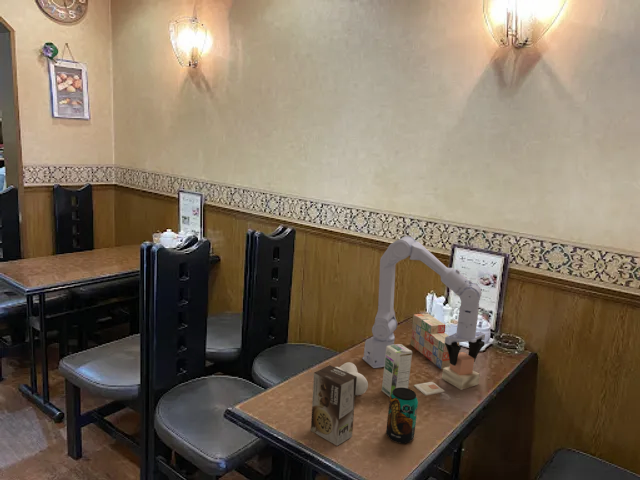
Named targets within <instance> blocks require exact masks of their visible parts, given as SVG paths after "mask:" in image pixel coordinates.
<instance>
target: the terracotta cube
mask: <svg viewBox="0 0 640 480" xmlns="http://www.w3.org/2000/svg"><path fill="white" fill-rule="evenodd" d="M468 354H469V353H466V352H465V351H461V352H459V354H458V358H457V363H456V365H455V366H454V365H452V364H450V369H452V370H453V371H454V372H456V373H457V374H459V375H465V374H471V373H472V372H473V371H474V366H475V365H474V364H475V362H474V358H473V357H471V356H469V355H468Z"/></svg>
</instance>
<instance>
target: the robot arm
mask: <svg viewBox="0 0 640 480" xmlns="http://www.w3.org/2000/svg"><path fill="white" fill-rule="evenodd" d="M407 258H409V260H413V261H420V262H422V263H423V264H424V265H426V266H427V267H428V268H430V269H431V270H432V271H434V272H435V273H436V274H437V275H439V276H440V281H441V283H442V284H444V285H445V286H446V287H447V288H448V289H450V290H451V291H452V292H454V293H455V294H456V295H457V296H459V300H460V306H459V311H458V319H457V325H456V332H455V333H452V334H450V335H449V336H447V337H445V345H446V347H447V350H448V354H449V360H450V364H452V365H454V366H455V365H456V363H457V358H458V354H459V353H460V351H461V350H462V347H461V346H460V345H459V346H458V344H457V343H458V342H459V343H465V342H466V343H467V342H468V353H467V354H468V355H469V356H471V357H473V358H474V363H475V362H476V359H477V357H478V355H479V353H480V352H481V350H482V349H483V347H484V346H485V345H486V344H485V343H486V342H485V338H486V333H484V332H482V331H480V332H479V331H477V326H478V319H479V318H478V317H479V311H480V310H479V307H480V301H481V297H482V293H483V291H482V289H481V286H479V285H478V284H477V283H476V282H473V281H472V280H471V279H468V278H467V277H466V276H464V275H463V274H462V273H461V270H460V269H459V268H457V269H455V268H454V267H447V266H446V265H445V264H444V263H443V262H441V261H440V260H439V259H438V258H437V257H436V256H435V255H434V254H433V253H432V252H431V251H430V250H428V249H427V248H426V247H425V246H424V245H423V244H422V243H421V242H419V240H416V239H415V238H414V237H412V236H410V235H404V236H403V237H400V239H397V240H395V241H393V242H392V243H390V244H389V245H388V246H387V249H386V250H385V251H384V252H383V254H382V256H381V257H380V260H379V278H378V279H379V281H378V305H377V313H376V315H375V318H374V324H373V325H372V327H371V333H372V336H371V337H369V338H367V339H366V340H365V342H364V349H363V350H364V351H363V357H362V360H363V361H364V362H366V363H367V364H368V365H369V366H370V367H371V368H373V369H379V368H384V365H385V355H386V347H387V346H389V345H394V344H395V333H394V332H395V331H396V330H397V328H398V320H397V319H396V312H395V309H394V304H395V286H396V285H395V284H396V282H395V281H396V265H397V264H398V263H399V262H400V261H403V260H405V259H407Z"/></svg>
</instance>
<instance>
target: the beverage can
mask: <svg viewBox="0 0 640 480" xmlns="http://www.w3.org/2000/svg"><path fill="white" fill-rule="evenodd" d="M418 406H419V400H418V397H417V393H416V392H415V391H414V390H413V389H410V388H409V387H408V388H396V389H394V390H393V393H392V394H391V396H390V397H389V401H388V412H387V419H386V430H385V431H386V435H387V437H388V438H389V439H390V440H391V441H392V442H394V443H396V444H397V443H398V444H408V443H410V442H411V441H413V440H414V438H415V433H416V424H417V416H418Z"/></svg>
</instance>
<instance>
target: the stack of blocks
mask: <svg viewBox="0 0 640 480" xmlns="http://www.w3.org/2000/svg"><path fill="white" fill-rule="evenodd" d="M412 315H413V317H412V326H411V327H412V328H411V339H410V345H411V346H412V347H413V348H414V349H416V350H417V352H420V354H421V355H423V356H424V357H426V359H428V360H430V362H431V363H433V364H434V366H436V367H438V368H439V369H440V370H443V368H445V367H449V366H450V360H449V354H448V350H447V347H446V345H445V337H447V336H450V335H449V334H447V333H446V323H443V322H442V321H440V320H439V319H437V318H436V317H434V316H433V315H431V314H430V313H415V314H412ZM457 344H458V346H460V342H458V343H457Z"/></svg>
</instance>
